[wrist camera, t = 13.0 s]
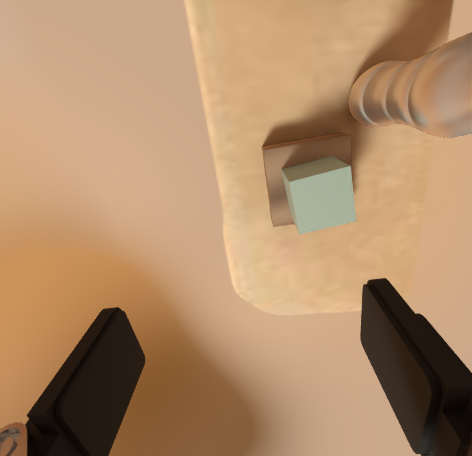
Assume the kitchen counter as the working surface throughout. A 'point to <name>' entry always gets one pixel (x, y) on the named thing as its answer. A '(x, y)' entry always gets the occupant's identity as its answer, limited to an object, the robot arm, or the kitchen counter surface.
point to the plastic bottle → (419, 92)
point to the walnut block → (294, 155)
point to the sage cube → (320, 194)
